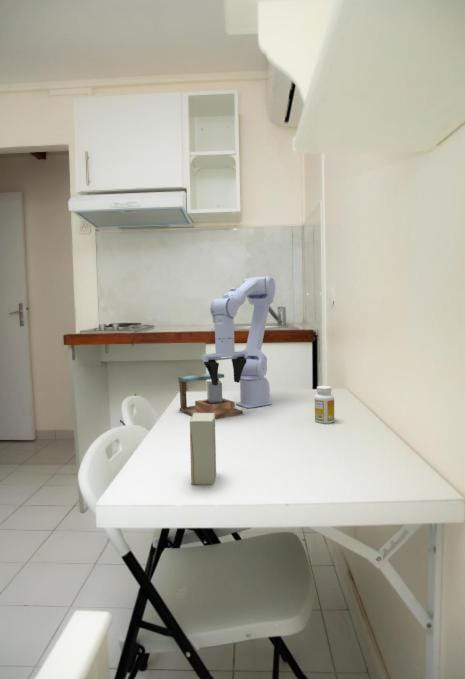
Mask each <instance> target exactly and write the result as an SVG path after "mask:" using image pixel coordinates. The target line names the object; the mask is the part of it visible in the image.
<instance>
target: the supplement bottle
mask: <svg viewBox="0 0 465 679" xmlns="http://www.w3.org/2000/svg"><path fill="white" fill-rule="evenodd" d="M316 392H317V394H315V395H314V422H316V423H318V424H332V423H333V422H335V396H334V395H333V394H332V386H328V385H320V386H316Z"/></svg>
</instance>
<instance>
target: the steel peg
mask: <svg viewBox="0 0 465 679" xmlns="http://www.w3.org/2000/svg"><path fill="white" fill-rule="evenodd" d="M206 391H207V392H206V395H207V396H206V397H207V399H208V404H210V405H211V404H218V403H222V398H223V383H222V382H221V380H219V381H218V385H212V381H211V380H210V381H206Z"/></svg>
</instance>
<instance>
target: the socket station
mask: <svg viewBox="0 0 465 679" xmlns="http://www.w3.org/2000/svg"><path fill="white" fill-rule="evenodd" d="M223 378H225V374H224V373H219V372H218V381H220V379H223ZM206 380H211V377H210V374H209V373H203V374H194V375H185V376H178V381H179V400H180V407H179V412H180V413H183V414H186V415H188V416H189V417H192V415H193V413H215V420H216V419H217V420H218V419H223V418H227V417H228V418H230V417H235V416H240V415H244V412H243V410H241V409H238V408H236V402H235V401H232V400H229V399H226V398H223V397H222V403H218V404H211V405H210V404H208V398H207V399H201V400H195V401H194V405H190V406H188V405H187V404H188V402H187V383H189V382H199V381H206Z"/></svg>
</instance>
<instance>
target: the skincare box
mask: <svg viewBox="0 0 465 679" xmlns="http://www.w3.org/2000/svg"><path fill="white" fill-rule="evenodd" d="M189 436H190V437H189V443H190V444H189V447H190V478H191V479H190V485H214V484H215V481H216V475H217V451H216V450H217V449H216V448H217V446H216V445H217V443H216V442H217V441H216V419H215V413H193V415H192V416H190V420H189Z"/></svg>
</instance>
